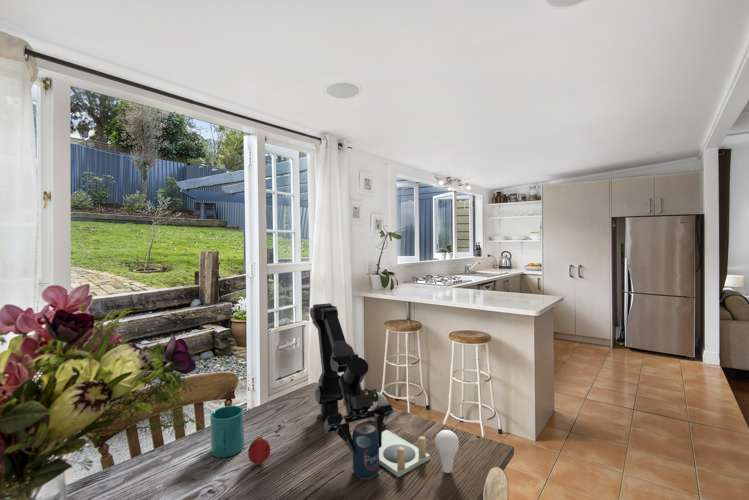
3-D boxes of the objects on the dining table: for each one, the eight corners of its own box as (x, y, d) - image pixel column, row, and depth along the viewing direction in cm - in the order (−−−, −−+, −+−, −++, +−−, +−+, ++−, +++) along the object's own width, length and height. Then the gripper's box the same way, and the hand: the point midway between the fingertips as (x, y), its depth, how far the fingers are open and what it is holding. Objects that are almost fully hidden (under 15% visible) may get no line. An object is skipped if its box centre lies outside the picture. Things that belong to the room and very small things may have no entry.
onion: (250, 473, 98) (249, 443, 98) (247, 462, 103) (246, 433, 103) (272, 467, 101) (271, 438, 101) (268, 456, 106) (267, 428, 106)
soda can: (370, 484, 93) (369, 437, 93) (347, 475, 97) (346, 430, 96) (384, 469, 99) (383, 425, 98) (362, 461, 103) (361, 418, 102)
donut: (359, 424, 123) (358, 394, 123) (359, 419, 127) (358, 390, 126) (389, 423, 124) (388, 393, 124) (388, 418, 127) (387, 389, 127)
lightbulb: (454, 483, 93) (454, 439, 93) (431, 475, 96) (431, 433, 96) (462, 470, 98) (462, 429, 98) (440, 462, 101) (440, 423, 101)
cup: (203, 466, 102) (202, 426, 101) (216, 442, 113) (215, 406, 113) (238, 463, 103) (236, 423, 102) (247, 440, 115) (246, 404, 114)
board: (356, 447, 109) (356, 427, 109) (387, 433, 117) (386, 414, 117) (398, 477, 96) (397, 453, 95) (429, 459, 103) (429, 437, 103)
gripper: (325, 385, 97) (339, 448, 87) (390, 374, 104) (409, 431, 95) (318, 403, 104) (330, 463, 95) (379, 391, 112) (396, 446, 102)
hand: (367, 450), depth 96 cm, fingers closed on soda can, 7 cm apart
